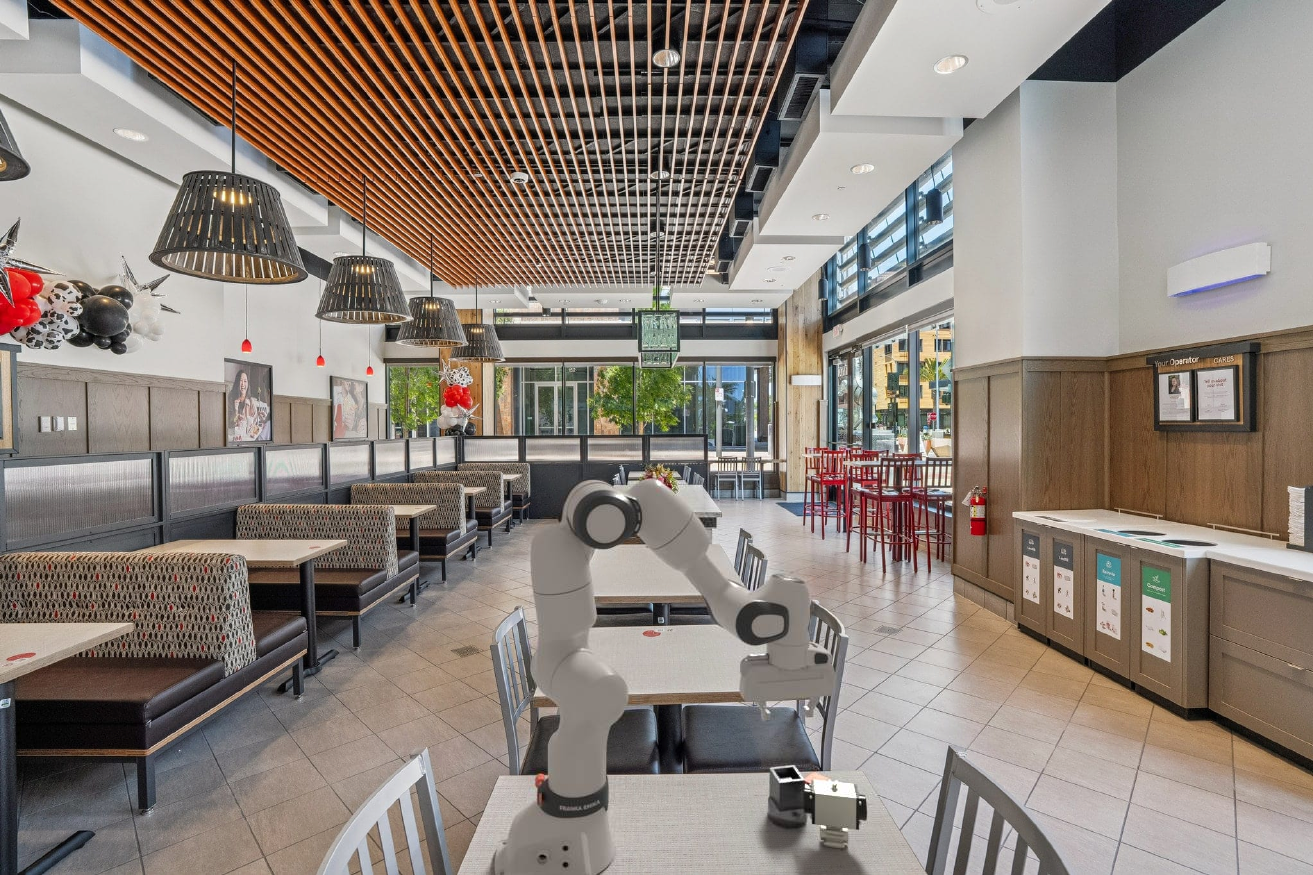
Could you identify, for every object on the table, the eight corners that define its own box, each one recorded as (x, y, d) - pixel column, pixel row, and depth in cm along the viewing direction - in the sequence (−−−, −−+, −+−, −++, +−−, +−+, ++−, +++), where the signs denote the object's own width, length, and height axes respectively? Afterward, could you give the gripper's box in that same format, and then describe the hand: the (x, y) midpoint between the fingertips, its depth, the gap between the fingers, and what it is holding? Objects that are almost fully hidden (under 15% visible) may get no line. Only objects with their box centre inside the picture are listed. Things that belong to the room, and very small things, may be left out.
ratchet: (793, 834, 123) (793, 797, 122) (760, 816, 128) (760, 781, 128) (837, 795, 135) (837, 761, 135) (805, 780, 141) (805, 748, 141)
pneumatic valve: (866, 855, 117) (867, 793, 116) (803, 846, 119) (804, 786, 119) (863, 836, 122) (863, 777, 122) (803, 828, 124) (803, 770, 124)
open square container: (779, 811, 125) (779, 782, 125) (769, 795, 130) (769, 767, 130) (805, 808, 126) (805, 779, 126) (794, 792, 131) (794, 764, 131)
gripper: (745, 661, 122) (744, 729, 123) (839, 655, 126) (838, 721, 126) (735, 650, 129) (734, 714, 129) (825, 644, 132) (825, 707, 133)
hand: (787, 717), depth 128 cm, fingers open, 8 cm apart
